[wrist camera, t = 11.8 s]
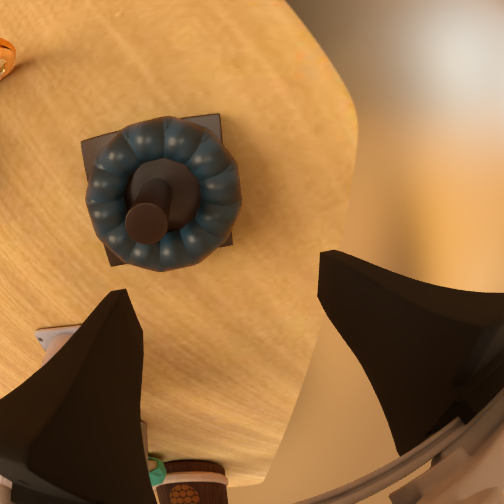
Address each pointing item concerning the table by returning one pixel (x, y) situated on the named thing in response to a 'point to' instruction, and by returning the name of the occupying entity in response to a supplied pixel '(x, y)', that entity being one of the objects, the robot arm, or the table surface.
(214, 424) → the table surface
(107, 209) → the ring
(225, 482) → the mug
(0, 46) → the ring
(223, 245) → the peg stand
